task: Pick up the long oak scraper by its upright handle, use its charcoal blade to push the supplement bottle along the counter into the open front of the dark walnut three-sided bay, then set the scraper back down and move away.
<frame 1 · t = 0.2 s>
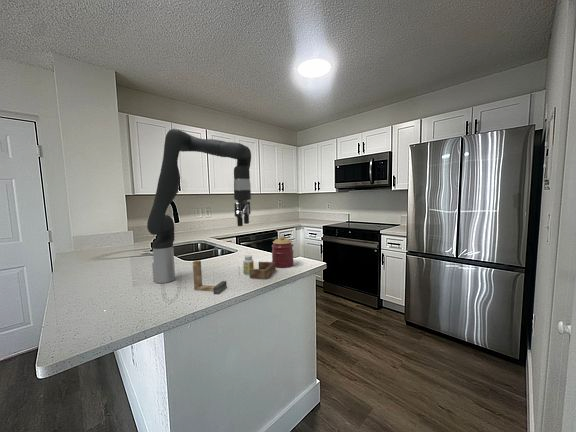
hand: (243, 224, 113), 29 cm above the table, fingers open, 8 cm apart
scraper: (198, 289, 112), on the table
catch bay: (263, 274, 131), on the table
canister: (282, 265, 148), on the table
supplement bottle: (248, 273, 133), on the table
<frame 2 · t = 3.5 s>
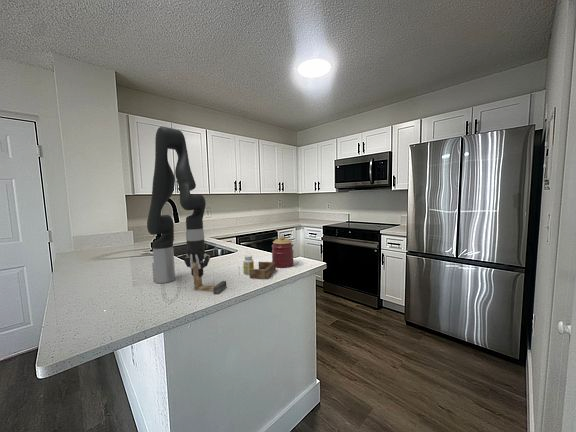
hand: (197, 276, 112), 6 cm above the table, fingers closed on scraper, 2 cm apart
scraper: (198, 289, 112), on the table, touching gripper
everything else where it was.
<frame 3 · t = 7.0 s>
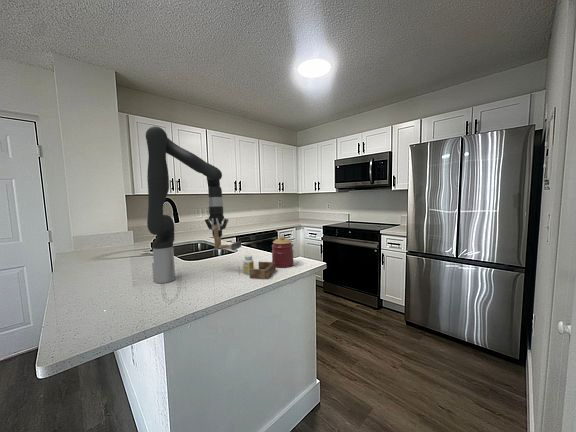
hand: (217, 236, 135), 20 cm above the table, fingers closed on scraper, 2 cm apart
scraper: (218, 247, 136), point 14 cm above the table, touching gripper
everything else where it was.
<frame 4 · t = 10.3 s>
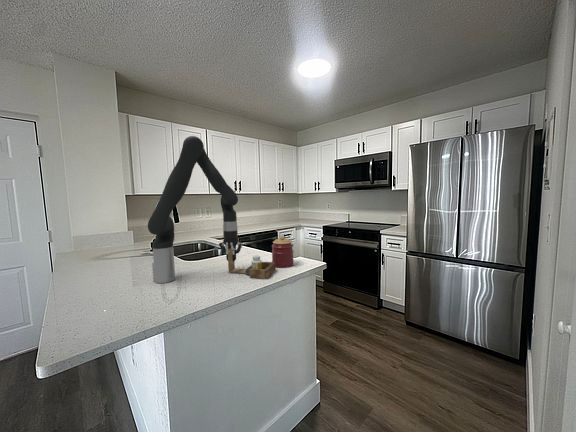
hand: (231, 260, 135), 7 cm above the table, fingers closed on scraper, 2 cm apart
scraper: (231, 271, 135), point 1 cm above the table, touching supplement bottle, gripper
supplement bottle: (257, 274, 132), on the table, touching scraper
everything else where it was.
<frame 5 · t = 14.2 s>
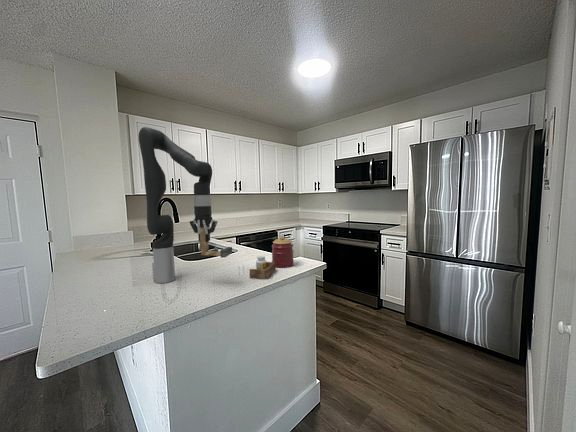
hand: (204, 241, 116), 21 cm above the table, fingers closed on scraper, 2 cm apart
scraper: (205, 254, 116), point 15 cm above the table, touching gripper
supplement bottle: (261, 274, 131), on the table
everything else where it was.
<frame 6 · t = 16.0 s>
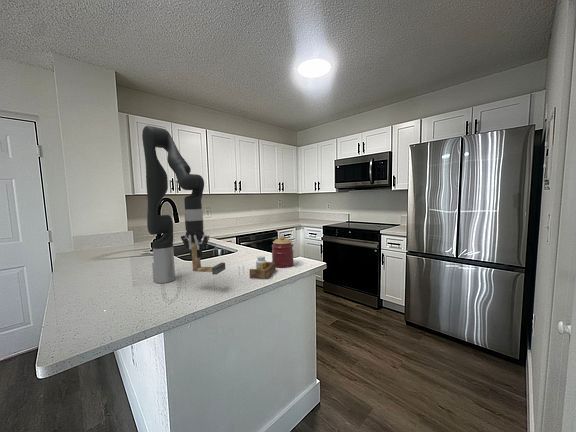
hand: (196, 257, 111), 15 cm above the table, fingers closed on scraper, 2 cm apart
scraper: (197, 270, 111), point 9 cm above the table, touching gripper
everything else where it was.
when the fingers open (8 cm above the table, at t = 17.5 s): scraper drops 1 cm, on the table.
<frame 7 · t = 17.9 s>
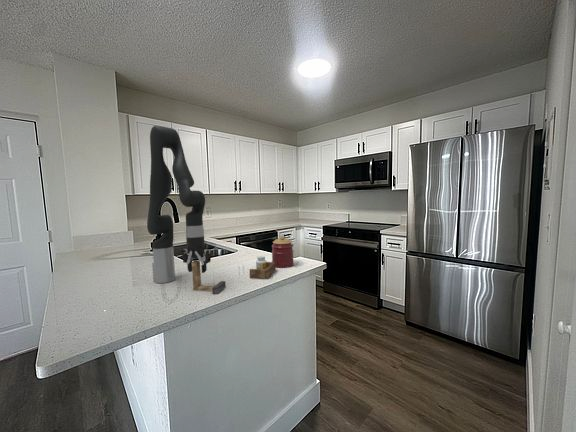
hand: (197, 271, 112), 8 cm above the table, fingers open, 6 cm apart
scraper: (197, 289, 112), on the table
everything else where it was.
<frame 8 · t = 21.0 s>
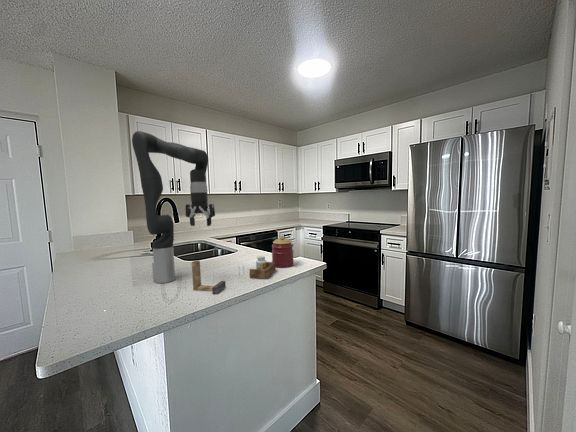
hand: (200, 225, 118), 28 cm above the table, fingers open, 8 cm apart
nothing on the table moved.
at the end: supplement bottle inside the target area on the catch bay (0.9 cm from its centre), point 0.0 cm above the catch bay's base; supplement bottle tilted 0°; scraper inside the target area (0.5 cm from its centre), on the table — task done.
